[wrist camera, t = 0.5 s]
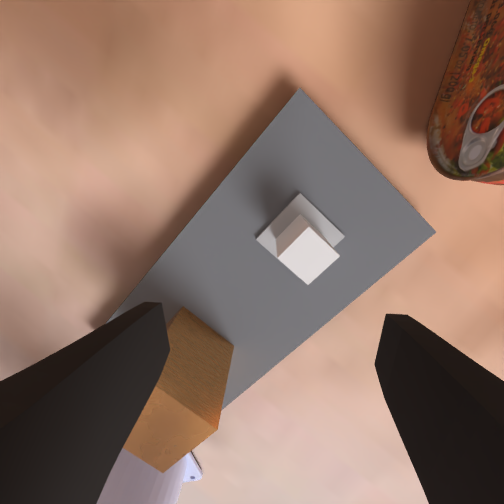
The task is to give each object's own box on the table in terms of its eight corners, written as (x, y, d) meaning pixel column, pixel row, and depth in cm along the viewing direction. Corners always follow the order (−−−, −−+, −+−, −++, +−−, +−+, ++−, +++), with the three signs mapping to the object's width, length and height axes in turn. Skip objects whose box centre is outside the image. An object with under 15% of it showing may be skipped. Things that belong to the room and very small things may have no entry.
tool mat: (205, 411, 24) (188, 479, 18) (98, 334, 22) (45, 386, 17) (422, 226, 17) (489, 251, 12) (297, 95, 15) (311, 56, 10)
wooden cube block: (195, 381, 21) (162, 473, 15) (145, 346, 20) (89, 426, 14) (234, 346, 19) (217, 429, 13) (183, 306, 19) (139, 374, 12)
